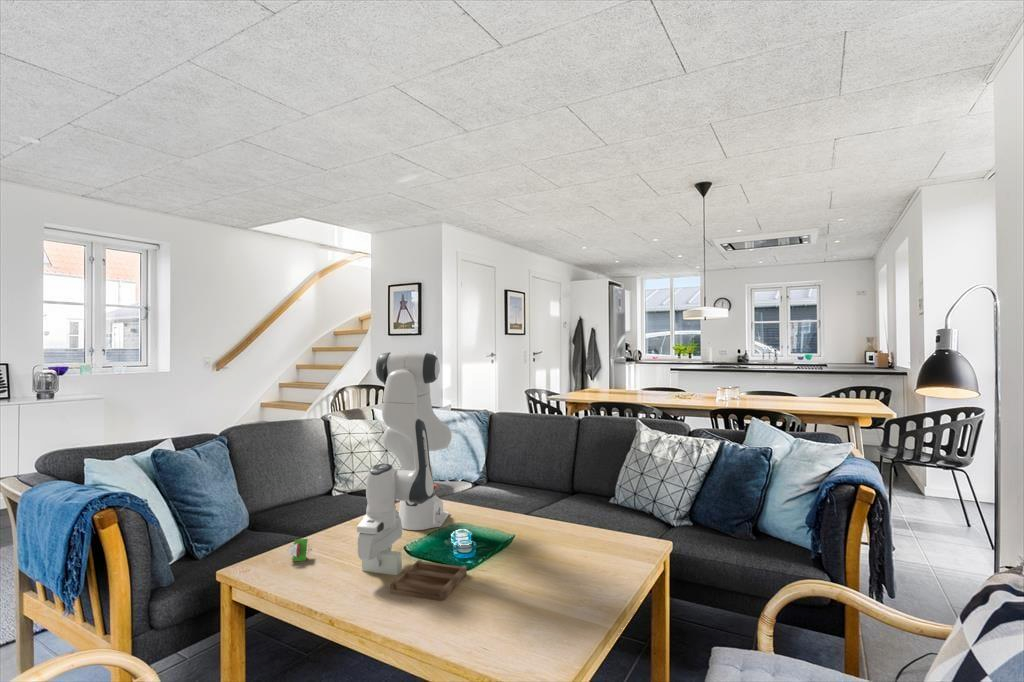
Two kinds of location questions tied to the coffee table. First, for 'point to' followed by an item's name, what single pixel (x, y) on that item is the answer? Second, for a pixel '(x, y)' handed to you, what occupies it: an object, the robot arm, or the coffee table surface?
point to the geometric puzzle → (299, 550)
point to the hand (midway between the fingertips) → (381, 563)
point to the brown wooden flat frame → (429, 580)
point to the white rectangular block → (385, 563)
